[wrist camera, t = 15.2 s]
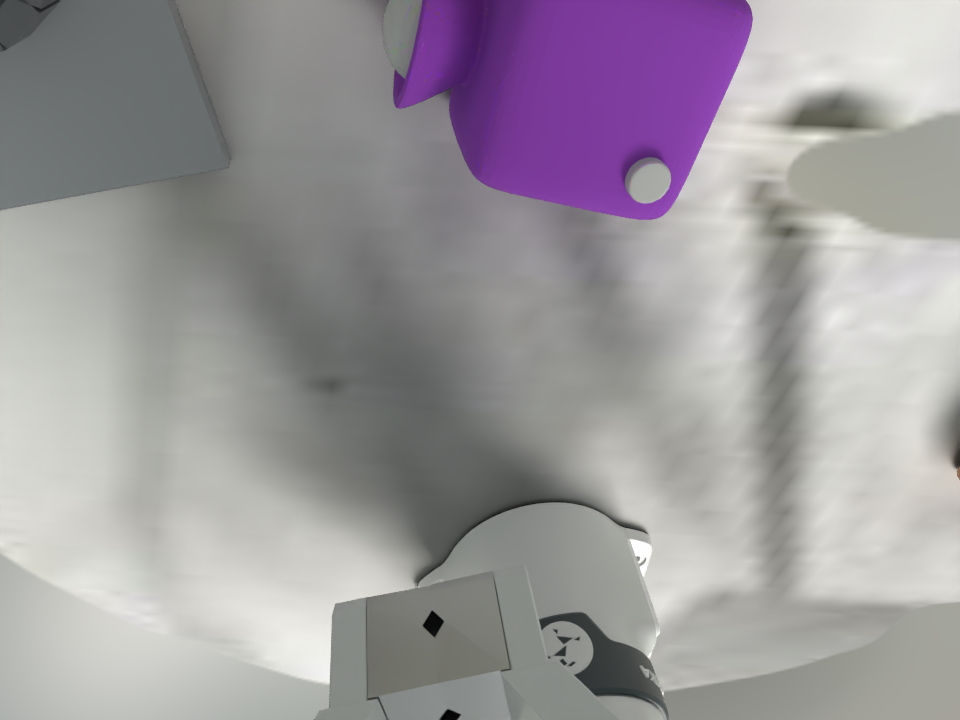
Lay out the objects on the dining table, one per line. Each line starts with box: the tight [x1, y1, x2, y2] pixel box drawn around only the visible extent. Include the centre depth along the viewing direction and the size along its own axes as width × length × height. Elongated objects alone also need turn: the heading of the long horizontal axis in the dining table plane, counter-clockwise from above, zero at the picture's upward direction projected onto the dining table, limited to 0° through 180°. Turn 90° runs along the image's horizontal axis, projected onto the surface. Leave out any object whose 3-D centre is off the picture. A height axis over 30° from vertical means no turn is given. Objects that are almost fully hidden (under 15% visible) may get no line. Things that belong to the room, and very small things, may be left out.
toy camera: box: [383, 0, 753, 220], centre depth 30 cm, size 11×14×10 cm
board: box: [0, 0, 231, 210], centre depth 29 cm, size 16×12×1 cm
